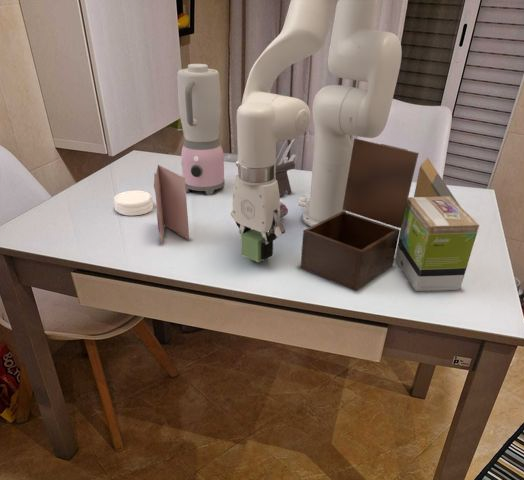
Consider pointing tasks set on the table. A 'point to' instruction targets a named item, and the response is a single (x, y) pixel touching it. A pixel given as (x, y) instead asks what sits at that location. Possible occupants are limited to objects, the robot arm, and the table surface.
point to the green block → (252, 244)
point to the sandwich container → (431, 182)
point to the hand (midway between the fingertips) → (257, 252)
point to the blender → (201, 128)
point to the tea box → (435, 243)
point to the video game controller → (283, 210)
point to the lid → (379, 181)
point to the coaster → (133, 203)
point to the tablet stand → (284, 177)
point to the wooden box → (349, 249)
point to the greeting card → (171, 202)
